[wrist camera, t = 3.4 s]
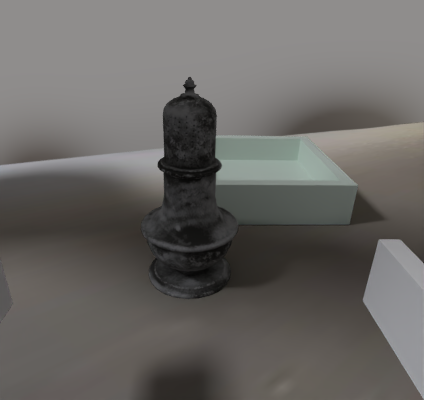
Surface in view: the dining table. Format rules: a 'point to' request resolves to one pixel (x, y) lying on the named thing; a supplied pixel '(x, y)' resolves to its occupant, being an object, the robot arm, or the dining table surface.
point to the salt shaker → (189, 204)
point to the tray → (281, 182)
